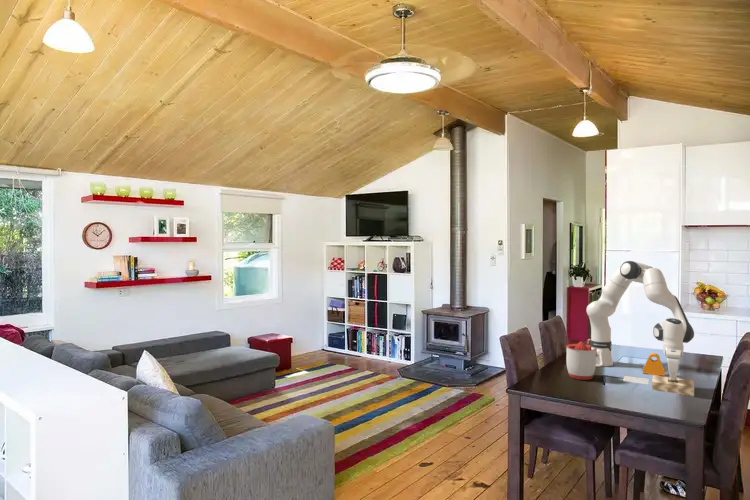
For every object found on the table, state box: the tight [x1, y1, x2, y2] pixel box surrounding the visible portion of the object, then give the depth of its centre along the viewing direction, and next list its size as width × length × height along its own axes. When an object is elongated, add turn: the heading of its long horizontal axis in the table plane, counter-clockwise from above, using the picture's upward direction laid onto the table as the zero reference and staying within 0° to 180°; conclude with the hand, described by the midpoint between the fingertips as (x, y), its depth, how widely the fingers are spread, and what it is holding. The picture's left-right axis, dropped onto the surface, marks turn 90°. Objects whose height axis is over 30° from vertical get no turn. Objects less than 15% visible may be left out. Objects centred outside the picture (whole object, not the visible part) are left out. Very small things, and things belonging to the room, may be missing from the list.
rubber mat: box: [622, 375, 650, 385], centre depth 275 cm, size 12×12×1 cm
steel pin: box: [669, 373, 677, 382], centre depth 259 cm, size 3×3×9 cm
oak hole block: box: [651, 375, 695, 397], centre depth 259 cm, size 18×14×4 cm
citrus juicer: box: [565, 341, 599, 381], centre depth 281 cm, size 16×17×20 cm
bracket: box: [642, 352, 666, 377], centre depth 288 cm, size 11×7×12 cm, turn 59°
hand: (672, 378), depth 259 cm, fingers closed on steel pin, 3 cm apart
